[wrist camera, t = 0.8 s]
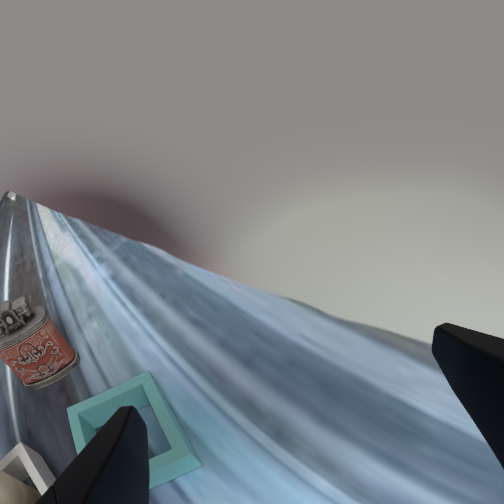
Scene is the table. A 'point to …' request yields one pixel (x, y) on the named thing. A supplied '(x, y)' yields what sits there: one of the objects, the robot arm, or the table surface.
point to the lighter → (34, 345)
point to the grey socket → (27, 467)
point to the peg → (16, 491)
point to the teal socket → (138, 395)
